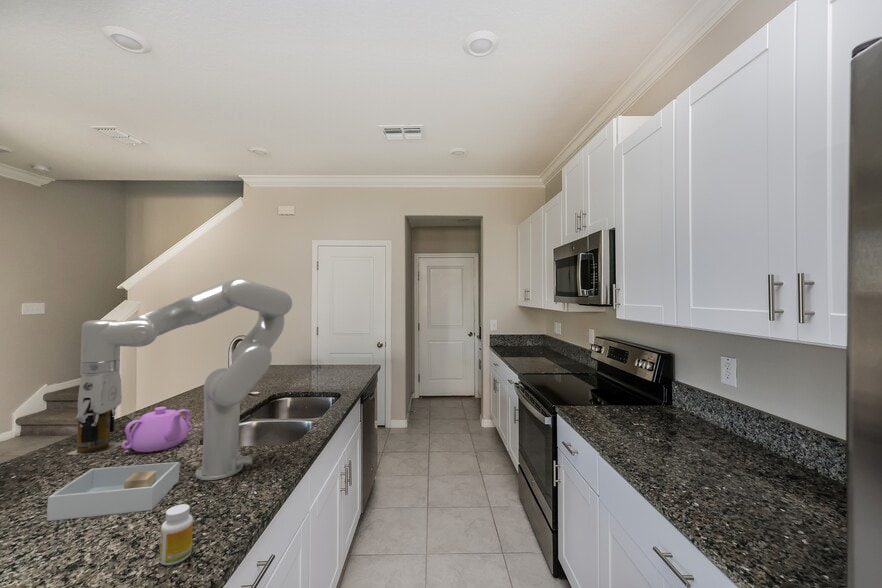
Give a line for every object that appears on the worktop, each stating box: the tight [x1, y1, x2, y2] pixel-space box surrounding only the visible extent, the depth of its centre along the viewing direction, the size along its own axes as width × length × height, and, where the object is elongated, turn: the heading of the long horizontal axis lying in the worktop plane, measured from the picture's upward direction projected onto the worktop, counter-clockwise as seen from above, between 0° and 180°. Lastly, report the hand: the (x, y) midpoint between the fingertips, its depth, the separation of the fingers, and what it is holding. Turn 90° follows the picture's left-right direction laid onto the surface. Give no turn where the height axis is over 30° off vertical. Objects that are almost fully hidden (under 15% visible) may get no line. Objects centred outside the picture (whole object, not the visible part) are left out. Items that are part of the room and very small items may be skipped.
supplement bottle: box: [159, 503, 194, 566], centre depth 74 cm, size 5×5×10 cm
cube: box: [124, 471, 156, 489], centre depth 96 cm, size 5×5×5 cm
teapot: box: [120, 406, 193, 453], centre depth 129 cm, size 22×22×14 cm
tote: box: [46, 461, 181, 522], centre depth 95 cm, size 21×15×6 cm
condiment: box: [67, 411, 126, 455], centre depth 93 cm, size 7×8×12 cm
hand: (98, 436), depth 93 cm, fingers closed on condiment, 6 cm apart
